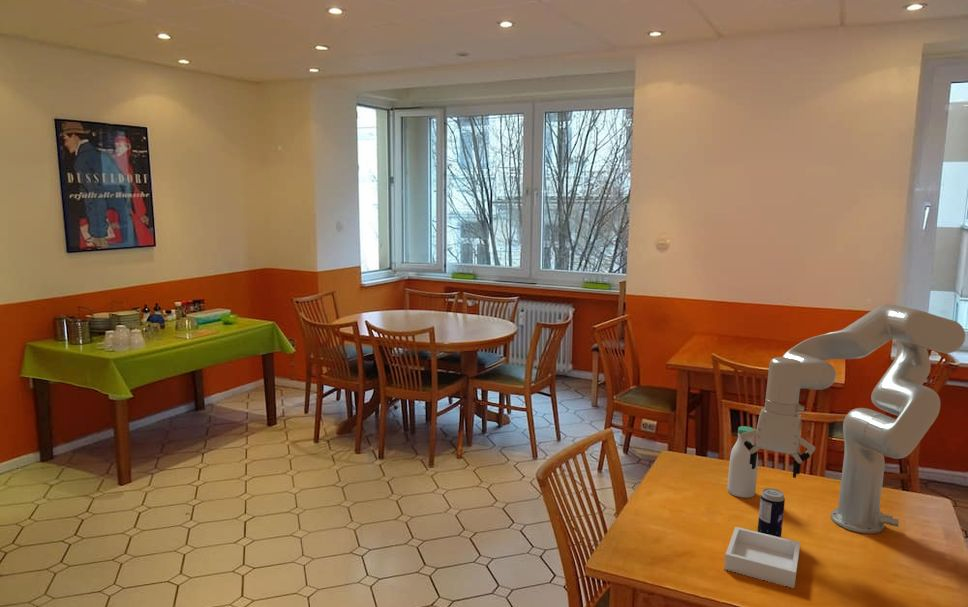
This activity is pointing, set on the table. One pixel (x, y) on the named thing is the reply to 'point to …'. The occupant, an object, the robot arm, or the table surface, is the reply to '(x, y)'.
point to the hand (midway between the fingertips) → (773, 471)
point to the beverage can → (771, 512)
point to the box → (763, 556)
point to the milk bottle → (742, 468)
